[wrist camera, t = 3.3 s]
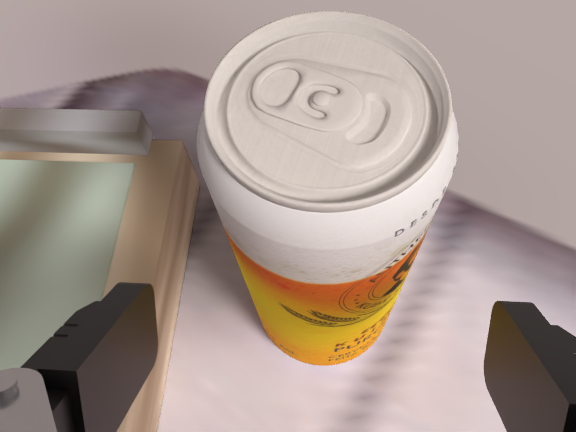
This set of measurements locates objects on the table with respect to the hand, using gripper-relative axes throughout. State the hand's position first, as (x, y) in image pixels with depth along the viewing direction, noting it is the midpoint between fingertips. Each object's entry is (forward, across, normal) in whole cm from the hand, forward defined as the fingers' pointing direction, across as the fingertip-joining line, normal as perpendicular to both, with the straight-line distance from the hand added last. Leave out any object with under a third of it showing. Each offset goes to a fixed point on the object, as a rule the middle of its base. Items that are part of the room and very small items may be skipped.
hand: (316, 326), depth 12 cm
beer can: (+11, 0, +6) cm, 13 cm away
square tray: (+11, +14, +5) cm, 19 cm away
